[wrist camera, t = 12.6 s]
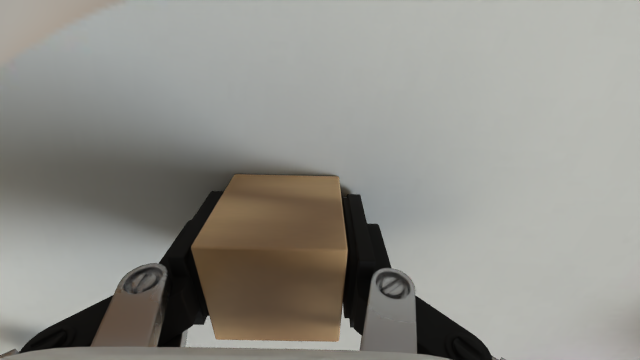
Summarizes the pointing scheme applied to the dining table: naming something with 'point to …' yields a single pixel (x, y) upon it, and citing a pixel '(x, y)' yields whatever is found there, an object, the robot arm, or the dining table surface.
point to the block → (274, 259)
